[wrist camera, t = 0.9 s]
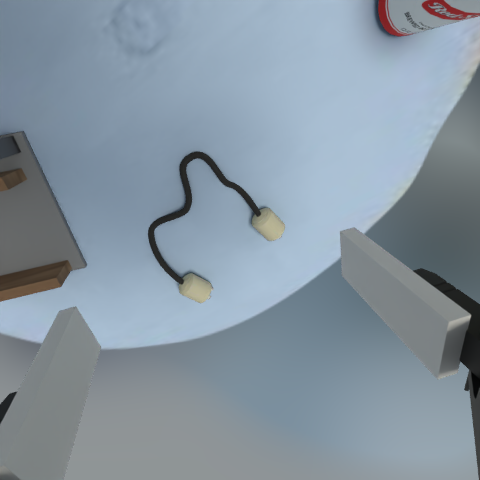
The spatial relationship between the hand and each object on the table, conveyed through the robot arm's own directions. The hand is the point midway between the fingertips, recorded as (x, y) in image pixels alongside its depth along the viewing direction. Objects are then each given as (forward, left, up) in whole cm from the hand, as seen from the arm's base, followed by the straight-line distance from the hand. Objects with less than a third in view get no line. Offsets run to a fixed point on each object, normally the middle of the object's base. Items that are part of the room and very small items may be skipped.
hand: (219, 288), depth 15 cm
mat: (0, -21, -23) cm, 31 cm away
